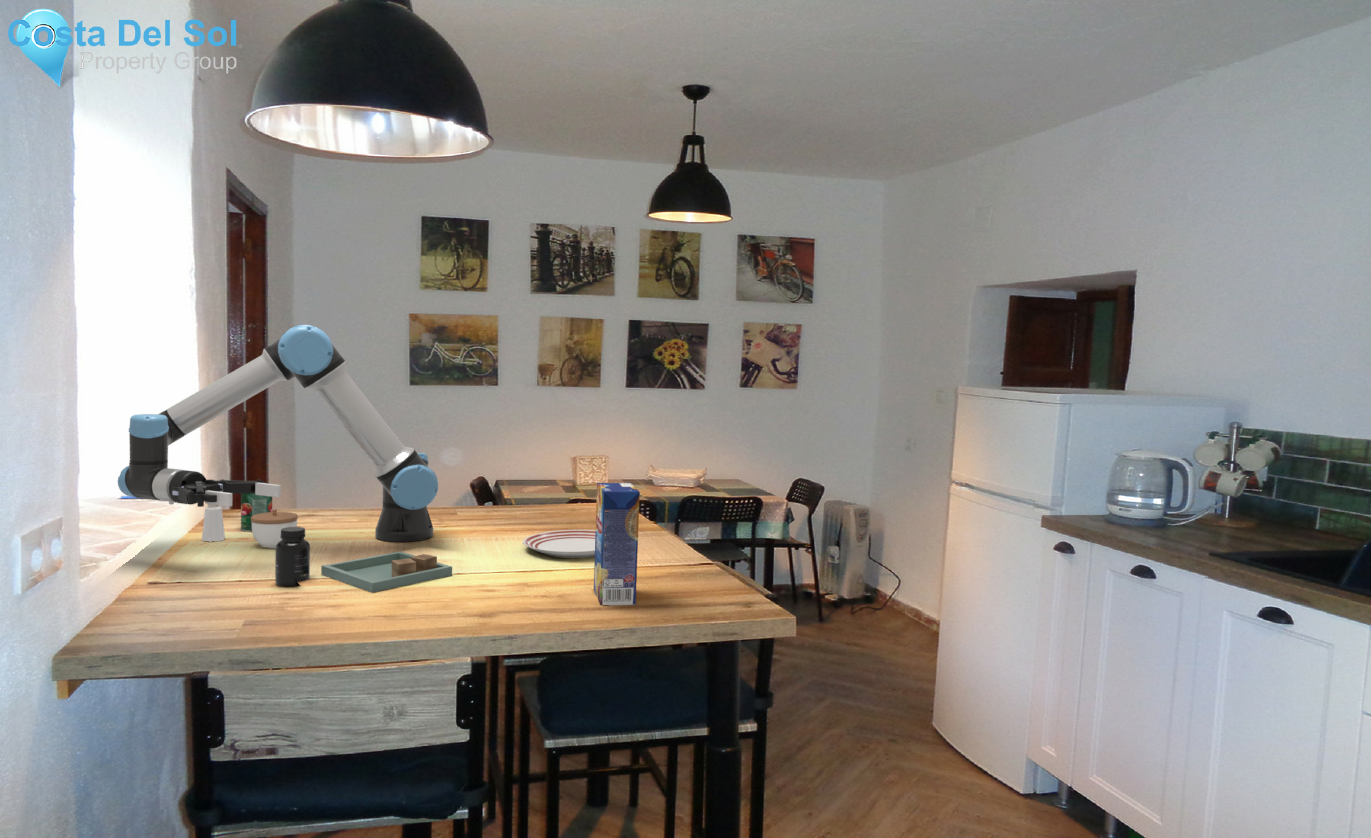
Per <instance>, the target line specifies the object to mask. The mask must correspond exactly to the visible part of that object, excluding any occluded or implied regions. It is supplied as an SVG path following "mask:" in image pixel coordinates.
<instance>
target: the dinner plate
mask: <svg viewBox="0 0 1371 838" xmlns="http://www.w3.org/2000/svg"><path fill="white" fill-rule="evenodd" d="M595 533H596V529H595V530H594V529H564V530H563V529H562V530H551V531H544V532H539V533H535V534H531V535H529V536H527V537H525V538H523V540H522V545H525V546H526V547H527V548H529V549H531V550H534V551H536V552H539V553H542V554H544V553H545V555H547V554H548V555H547V556H550V555H551V556H550V557H556V558H562V557H566V558H565V559H586V558H585V557H590V558H595Z"/></svg>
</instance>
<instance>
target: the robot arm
mask: <svg viewBox="0 0 1371 838" xmlns="http://www.w3.org/2000/svg"><path fill="white" fill-rule="evenodd" d="M346 364H347V361H346V360H345V359H344V358H343V356H342V355H341V353H340V352H339V350H337V348H336V347H335V345H334V344H333V342H332V340H331V339H330V337H329V335H328V334H326V332H325V331H324V330H322V329H320V328H319V327H316V326H314V325H310V324H299V325H298V324H297V325H296V326H293V327H291V328H289V329H288V330H286V332H284V333H283V334H282V335H281V337H279V339H277V340H276V341H275V342H273V343H272V344H270V345H268V346H267V347H264V348H263V350H262V354H261V355H259V356H258V357H256V358H254V359H252V360H251V361H249V362H247V363H245V364H243V365H242V366H240V367H238V368H236V369H234V371H232V372H230V373H227V374H226V375H225V376H223V377H221V378H219V379H218V380H215V381H214V382H212V383H210V384H208V385H207V386H205V387H203V388H202V389H200V390H198V391H196V392H194V393H193V394H191V395H189V396H188V397H185V398H184V399H182V400H181V401H179V402H177V403H175V404H174V405H172V406H170V407H168V408H167V409H166V410H164V411H161V412H160V413H157V414H156V413H155V414H153V413H139V414H133V415H132V416H131V417H130V418H129V428H128V432H129V462H128V465H127V466H126V467H124V468H122V470H121V471H120V474H119V475H118V478H117V486H118V488H119V490H120V492H122V494H124V495H125V496H126V497H127V496H128V497H132V498H136V499H140V500H151V501H152V500H153V501H161V502H168V504H169V505H174V504H175V503H177V504H181V505H182V504H183V505H189V506H190V505H191V506H193V505H196V504H197V508H199V507H200V508H202V507H205V504H206V505H208V504H214V505H219V506H222V507H232V506H233V495H235V494H236V495H241V494H254V493H255V495H262V496H271V497H272V498H281V497H282V496H281V495H282V485H281V484H276V483H273V484H272V483H266V482H265V481H264V480H261V479H260V478H257V480H230V479H228V480H227V479H220V480H215V479H206V477H205V475H204V474H203V473H201V472H199V471H194V470H186V469H179V468H170V467H169V466H168V465H169V464H168V463H169V458H168V457H169V446H170V445H172V444H174V443H175V442H178V441H179V440H180V439H182V438H183V437H185V436H187V435H188V434H190V433H192V432H193V431H196V430H197V429H198V428H201V427H202V426H204V425H206V424H207V423H209V422H211V421H213V420H214V419H216V418H217V417H220V416H221V415H223V414H225V413H226V412H228V411H230V410H231V409H233V408H235V407H237V406H238V405H240V404H242V403H244V402H245V401H247V400H249V399H250V398H252V397H254V396H256V395H257V394H259V393H261V392H263V391H265V390H266V389H269V387H271V386H273V385H274V384H276V383H278V382H280V381H283V382H288V381H290V380H291V379H294V378H295V379H296V380H297V382H298V383H299V384H300V385H301V386H302V387H303V389H304V390H307V391H308V390H309V391H313V392H315V393H316V394H317V396H318V397H319V398H320V399H321V401H322V402H323V403H324V405H326V407H327V408H328V409H329V410H330V412H331V413H332V414H333V415H334V417H335V418H336V420H338V422H339V423H340V424H341V425H342V427H343V428H344V430H346V431H347V433H348V434H349V435H350V436H351V438H352V439H353V441H354V442H355V443H356V444H357V445H358V446H359V448H360V449H361V450H362V451H363V453H364V454H365V455H366V457H367V458H368V459H369V461H370V462H371V463H372V464H373V465H374V466H375V472H374V477H376V479H377V480H378V481H379V483H380V484H381V486H382V506H381V507H382V508H381V512H380V515H379V518H378V521H377V524H376V527H375V532H374V533H375V534H374V536H375V539H377V540H380V541H386V542H396V543H397V542H399V543H402V542H403V543H404V542H415V541H423V540H428V539H430V538H433V536H434V526H433V523H432V520H431V517H430V513H429V510H428V506H429V505H430V504H431V503H432V502H433V501H434V500H435V497H436V496H437V494H438V491H439V482H438V477H437V474H436V473H435V471H434V470H433V469H431V468H430V467H429V466H428V465H429V462H430V461H429V457H428V454H427V453H426V452H417V451H416V450H415V448H414V447H407V446H405V445H404V444H403V443H402V442H401V440H400V439H399V438H398V436H397V435H396V434H395V432H393V430H392V429H391V428H390V427H389V425H388V424H387V423H386V421H385V420H384V419H383V417H382V416H381V415H380V413H379V412H378V410H376V409H375V407H374V406H373V404H372V403H371V402H370V401H369V399H368V398H367V397H366V396H365V394H364V393H363V392H362V391H361V389H360V388H359V386H357V384H356V383H355V382H354V380H353V379H352V378H351V377H350V375H349V374H348V373H347V372H346ZM168 467H169V468H168ZM429 537H430V538H429ZM427 538H428V539H427Z"/></svg>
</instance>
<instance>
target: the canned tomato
mask: <svg viewBox="0 0 1371 838" xmlns="http://www.w3.org/2000/svg"><path fill="white" fill-rule="evenodd" d="M272 510H273V497H271V496H262V495H255V493H254V494H240V531H241V532H245V531H249V532H248V533H251V532H250V531H252V521H251V517H252V516H253V515H256V514H260V513H268V512H272Z"/></svg>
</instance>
